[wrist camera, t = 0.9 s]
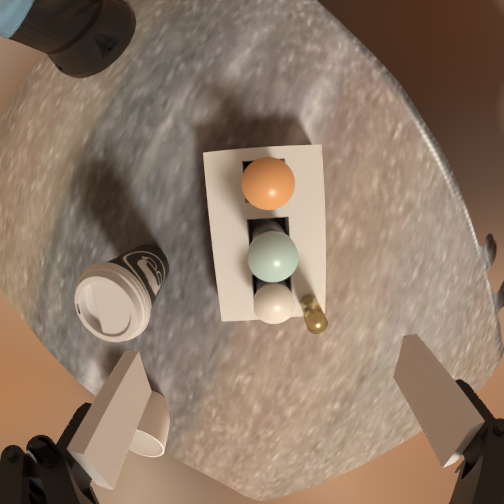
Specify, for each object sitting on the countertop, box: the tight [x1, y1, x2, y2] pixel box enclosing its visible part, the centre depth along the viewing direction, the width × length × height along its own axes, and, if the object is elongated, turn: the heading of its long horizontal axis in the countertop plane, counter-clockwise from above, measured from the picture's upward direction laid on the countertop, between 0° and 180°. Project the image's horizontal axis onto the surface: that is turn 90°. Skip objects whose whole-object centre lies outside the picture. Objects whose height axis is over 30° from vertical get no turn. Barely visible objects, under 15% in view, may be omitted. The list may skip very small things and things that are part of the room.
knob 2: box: [248, 221, 299, 282], centre depth 32 cm, size 5×5×9 cm
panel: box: [203, 145, 326, 322], centre depth 37 cm, size 22×14×5 cm, turn 4°
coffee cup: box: [75, 245, 169, 342], centre depth 34 cm, size 10×10×15 cm
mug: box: [129, 391, 170, 457], centre depth 44 cm, size 12×9×12 cm
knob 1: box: [241, 157, 295, 210], centre depth 30 cm, size 5×5×9 cm
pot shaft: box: [300, 294, 328, 334], centre depth 34 cm, size 2×2×6 cm
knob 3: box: [254, 277, 295, 324], centre depth 37 cm, size 5×5×9 cm
